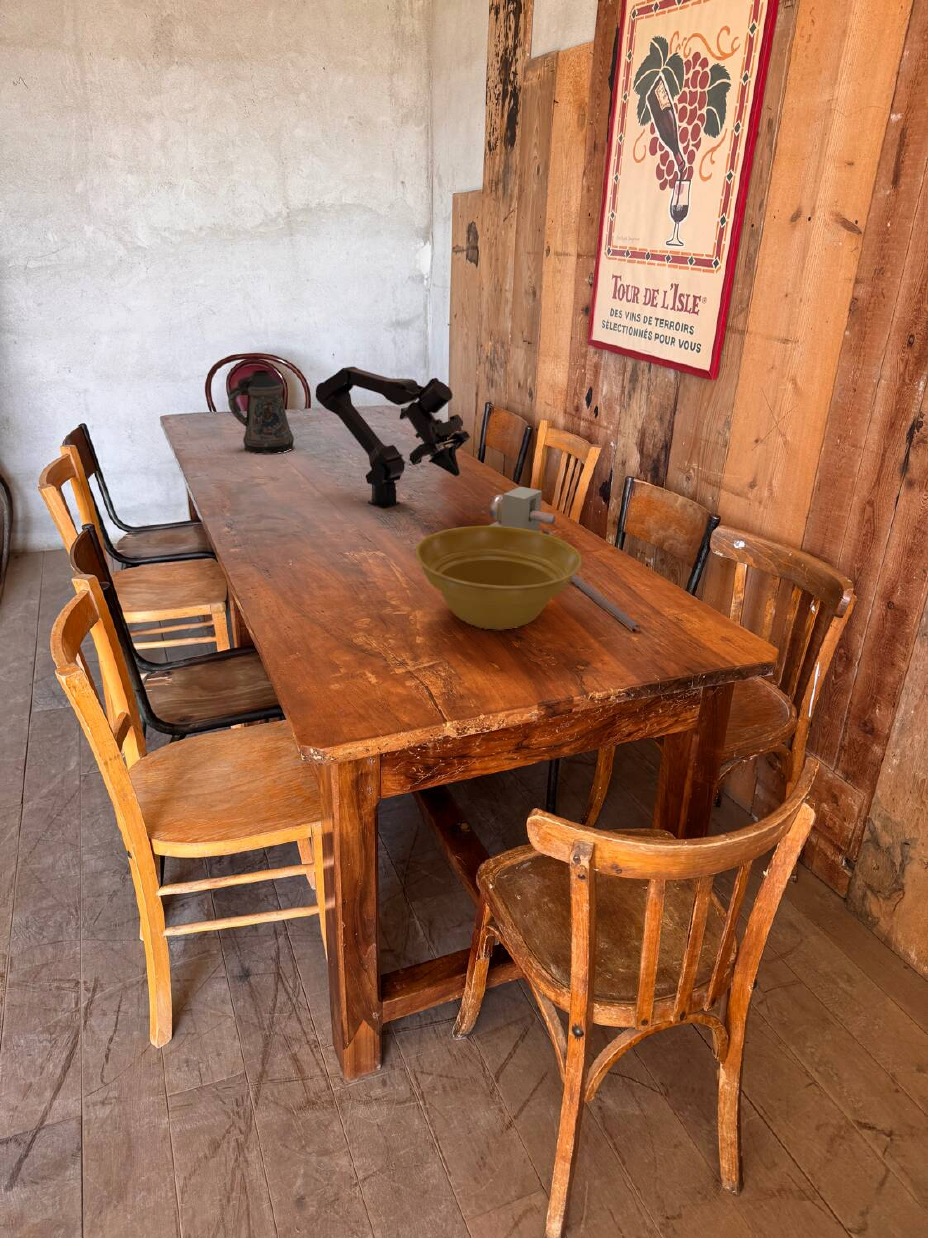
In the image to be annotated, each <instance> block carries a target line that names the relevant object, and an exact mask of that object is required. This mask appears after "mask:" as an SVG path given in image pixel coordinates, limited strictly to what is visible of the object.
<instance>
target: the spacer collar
mask: <svg viewBox="0 0 928 1238" xmlns="http://www.w3.org/2000/svg"><path fill="white" fill-rule="evenodd" d="M502 504H503V501H501V502H499V511H498V519H497V521H498V523H501V521H502Z"/></svg>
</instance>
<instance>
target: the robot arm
mask: <svg viewBox="0 0 928 1238" xmlns="http://www.w3.org/2000/svg"><path fill="white" fill-rule="evenodd" d="M354 387H358V388H361V389H364V390H367V391H371V392H374V393H377V394H379V395H382V396H383V397H384V398H385V400H386V401H389V402H390V403H393V404H394V405H397V406H400V405H406V404H409V403H410V404H409V405H408V406H407V407H403V408H400V413H399V414H400V415H399V419H400V421H401V420H406V419H408V420H409V423H410V424H411V425H412V427H413V428H414V430H415V431H416V433H415V435H414V436H415V438H416V439H421V440H422V442H423V443H421V444H419V445H418V446H416V447H415V448H414V450H413V451H412V452H411V453H410V454H409V461H410V462H411V464H412V465H413V466H417V465H419V464H421V463H422V461H423V460H422V458H424V457H426V456H429V457H430V459H429V460H428V463H429V464H430V463H432V464H434V465H436V466H438V467H439V468H441V469H443V470H445V471H447V472H448V473H449V474H451V475H452V476H454V477H459V475H460V474H461V473H460V468H459V465H458V459H457V455H456V452H457V450H459V449H460V448H461V447H462V446H463V445H464V444H465V443H467V441H469V440H470V439H471V436H470V434H469V433H468V431H467V430H463V428H462V427H463V425H464V420H463V419H462V418H461V416H460V415H459V414H458V413H457V414H454V415H452V416H449V420H448V421H445V422H443V420H442V419H440V418H438V419H436V418H435V416H434V414H437V413H439V412H440V410H442V409H443V408H444V407H445V406H446V405H447V404H448V403H449V402H450V401H451V400H452V399H453V392H452V390H451V388H450V386H448V385H446V384H445V383H444V382H442V381H440V380H439V378H437V377H435V378H434V377H433V378H431V379H429V381H428V383H427V384H426V385H425V386H422V385H419V384H418V382H417V381H416V380H414V379H413V378H412V379H411V378H391V377H388V376H387V377H386V376H383V375H380V374H376V373H373V372H369V371H367V370H363V369H361V368H357V367H356V366H347V367H343V368H342V367H341V369H340V370H338V371H337V372H336V373H335V374H333V375H332V376H330V377H329V378H327V379H326V380H325V381H322V382H319V383H318V384H317V385H316V388H315V396H314V397H315V398H316V400H317V401H318V403H319V404H320V405H321V406H322V407H323V408H325V409H326V410H327V411H328V412H329V411H330V413H331V412H332V413H333V414H335V415H336V416H337V417H338V418H339V419H340V420H341V422H342V423H343V424H344V426H345V427H346V428H347V429H348V430H349V432H350V433H351V435H352V436H353V437H354V438H355V440H356V441H357V442H358V444H359V445H360V446H361V447H362V448H363V449H362V450H364V452H366V454H367V456H368V460H369V461H368V462H369V467H370V468H371V469H370V470H369V472H367V474H365V479H366V483H367V484H369V485H371V500H368V501H367V503H368V504H370V505H372V506H375V507H379V508H382V509H384V508H389V507H393V506H397V505H399V504H401V501H399V500H397V488H396V487H397V486H396V484H397V483H396V481H400V480H401V478H402V474H403V473H404V471H405V464H406V462H405V460H404V459H403V457H404V455H403V454H402V453H400V451H398V448H397V447H396V446H395V445H394V444H391V445H386V444H384V443H383V442H382V441H381V439H380V438H379V437H378V436H377V434H376V433H375V432H374V431H373V429H372V428H371V426H369V424H368V423H367V422H366V420H365V418H364V417H362V415H361V414H360V413H359V411H358V410H357V408H356V407H355V406H354V405H353V404H352V396H351V392H350V391H351V390H352V389H353V388H354Z"/></svg>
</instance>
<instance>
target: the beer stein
mask: <svg viewBox="0 0 928 1238" xmlns="http://www.w3.org/2000/svg"><path fill="white" fill-rule="evenodd" d="M283 390H284V385H283V383H282V382H280V381H279V379H277V378H275V377H274V376H273V375H271V373H270V370H263V369H262V370H255V371H252V374H251V375H249V376H246V377H241V378H240V379H238V381H237V386H235V387H233V388H231V389H230V391H229V393H228V394H229V395H228V398H227V399H228V401H227V402H228V407H229V410H230V411H231V413H232V415H233V416H234V417H235V418H236V420H238V422H239V423H240V424H242V425H243V426H244V427H245V431H244V435H243V438H242V442H243V444H244V449H245V451H247V450H248V451H250V452H249V453H252V452H255V453H254V454H257V453H278V452H284V451H287V450H289V449H292V448H294V441H295V437H294V434H293V433H292V431H291V428H290V425H289V421H288V418H287V414H286V409H285V408H286V407H285V403H284V399H283ZM239 396H247V400H246V401H247V403H246V416H245V415H244V414H243V413H242V412H241V411H240V409H239V407H238V406H237V403H236V401H237V398H238V397H239ZM292 450H293V449H292ZM248 451H247V452H248ZM278 454H279V453H278Z"/></svg>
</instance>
